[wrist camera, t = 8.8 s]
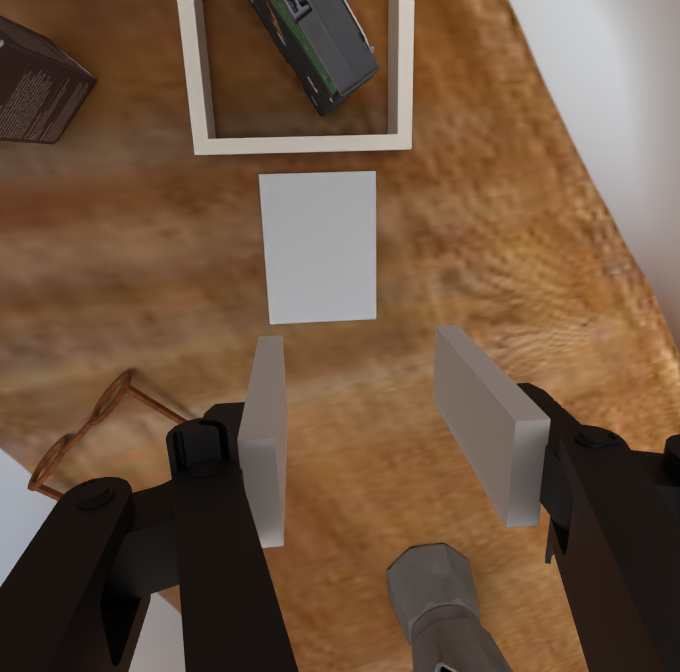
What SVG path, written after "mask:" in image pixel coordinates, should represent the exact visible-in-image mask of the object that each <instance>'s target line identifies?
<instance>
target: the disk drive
mask: <svg viewBox="0 0 680 672" xmlns="http://www.w3.org/2000/svg"><path fill="white" fill-rule="evenodd" d="M249 2H250V3H251V5H252V7H253V8H254V9H255V11H256V12H257V14H258V15H259V17H260V19H261V20H262V22H263V24H264V25H265V27H266V29H267V30H268V32H269V33H270V35H271V37H272V39H273V41H274V42H275V44H276V46H277V47H278V48H279V50H280V52H281V53H282V55H283V57H284V58H285V60H286V61H287V62H288V63H290V64H291V66H292V68H293V69H294V70H295V72H296V74H297V76H298V77H299V79H300V80H301V82H302V84H303V87H304V90H305V92H306V94H307V95H308V97H309V98H310V100H311V102H312V103H313V104H314V106H315V108H316V109H317V111H318V113H319V115H320V116H324V115H326V114H327V113H328V112H330V111H331V110H333V109H334V108H335V107H337V106H338V105H339V104H341V103H342V102H344V101H345V100H346V99H348V98H349V97H350V95H351V94H352V93H353V92H355V90H357V89H358V88H359V87H360V86H361V85H363V84H365V83H366V82H367V81H369V80H370V79H371V78H372V77H373V75H374V74H375V73H377V71H379V70H380V67H379V64H378V62H377V60H376V59H375V58H374V55H373V52H374V47H373V46H371V47H370V46H369V44H368V40H367V38H366V36H365V34H364V32H363V30H362V28H361V26H360V25H359V23H358V21H357V19H356V17H355V16H354V14H353V12H352V10H351V9H350V7H349V5H348V3H347V2H346V0H249Z"/></svg>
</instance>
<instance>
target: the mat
mask: <svg viewBox="0 0 680 672" xmlns="http://www.w3.org/2000/svg"><path fill="white" fill-rule="evenodd" d="M259 185H260V198H261V211H262V225H263V238H264V252H265V265H266V278H267V292H268V305H269V319H270V324H286V323H306V322H326V321H346V320H365V319H376V171H355V172H321V173H287V174H259Z"/></svg>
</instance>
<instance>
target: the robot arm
mask: <svg viewBox="0 0 680 672" xmlns="http://www.w3.org/2000/svg"><path fill="white" fill-rule="evenodd" d="M433 401H434V403H435V405H436V406H437V408H438V410H439V412H440V413H441V415H442V417H443V419H444V420H445V422H446V424H447V426H448V427H449V429H450V431H451V433H452V434H453V436H454V438H455V440H456V441H457V443H458V445H459V447H460V448H461V450H462V452H463V453H464V455H465V457H466V459H467V460H468V462H469V464H470V466H471V467H472V469H473V471H474V473H475V474H476V476H477V478H478V480H479V481H480V483H481V485H482V487H483V488H484V490H485V492H486V494H487V495H488V497H489V499H490V500H491V502H492V504H493V506H494V507H495V509H496V511H497V513H498V514H499V516H500V518H501V520H502V521H503V523H504V525H505V527H506V528H509V527H521V526H534V525H538V524H539V515H540V507H541V503H542V505H543V506H544V508H545V509H546V510H547V512H548V513H549V515H550V523H549V531H548V539H547V547H546V555H545V563H548V564H551V556H552V555H553V554H554V555H555V558H556V562H557V565H558V568H559V572H560V575H561V578H562V582H563V585H564V589H565V592H566V595H567V599H568V602H569V605H570V609H571V612H572V616H573V619H574V622H575V626H576V629H577V632H578V636H579V639H580V643H581V646H582V649H583V653H584V656H585V659H586V663H587V666H588V669H589V672H680V434H678V435H673V436H670V437H669V438H668V439H667V440H666V443H665V448H664V453H663V454H662V453H653V452H643V451H634V450H631V449H630V448H629V446H628V445H627V443H626V442H625V441H624V440H623V439H622V438H621V437H620V436H619V435H617V434H615V433H613V432H611V431H609V430H606V429H603V428H600V427H596V426H589V425H581V424H580V423H579V422H578V421H577V420H576V419H575V418H574V417H573V416H571V415H570V414H569V413H568V412H567V411H566V410H565V409H564V408H561V405H560V404H558V403H557V402H556V401H554V399H553V398H552V397H551V396H550V395H549V394H548V393H547V392H545V391H544V390H543V389H540V388H538V387H536V386H534V385H532V384H530V383H519V384H516V383H515V382H514V381H513V380H512V379H511V378H510V377H509V376H508V375H507V374H506V373H505V372H504V371H503V370H502V369H501V368H500V367H499V366H498V365H497V364H496V363H495V362H494V361H493V360H492V359H491V358H490V357H489V356H488V355H487V354H486V353H485V352H484V351H483V350H482V349H481V348H480V347H479V346H478V345H477V344H476V343H475V342H474V341H473V340H472V339H471V338H470V337H469V336H468V335H467V334H466V333H465V332H464V331H463V330H462V329H461V328H460V327H459V326H458V325H456V326H438V327H436V334H435V365H434V397H433ZM287 417H288V407H287V393H286V379H285V365H284V351H283V336H282V335H274V336H259V338H258V343H257V348H256V353H255V358H254V362H253V367H252V372H251V377H250V382H249V386H248V391H247V396H246V401H245V402H239V403H224V404H215V405H214V406H213V407H211V408H210V409H209V410H208V411H207V412H206V413H205V414H204V416H203V418H196V419H193V420H189V421H185V422H183V423H181V424H179V425H177V426H175V427H174V428H173V429H172V430H170V431H169V432H168V434H167V437H166V443H167V450H168V456H169V462H170V469H171V475H172V480H170V481H168V482H166V483H164V484H162V485H159V486H156V487H153V488H149V489H145V490H142V491H138V492H134V493H132V489H131V486H130V484H129V483H128V482H127V480H124V479H121V478H118V477H103V478H95V479H91V480H88V481H85V482H83V483H81V484H79V485H77V486H75V487H74V488H72V489H70V490H69V491H67V492H66V493H65V494H64V495H63V496H62V497H61V498H60V499H59V501H58V502H57V504H56V505H55V507H54V508H53V510H52V511H51V513H50V514H49V515H48V517H47V518H46V520H45V521H44V523H43V524H42V526H41V528H40V529H39V530H38V532H37V533H36V535H35V536H34V538H33V539H32V541H31V542H30V544H29V545H28V547H27V548H26V550H25V551H24V553H23V554H22V556H21V557H20V559H19V560H18V562H17V563H16V565H15V566H14V568H13V569H12V571H11V572H10V574H9V575H8V577H7V578H6V580H5V581H4V583H3V584H2V586H1V587H0V672H128V671H129V668H130V664H131V661H132V658H133V655H134V651H135V648H136V645H137V642H138V639H139V635H140V632H141V629H142V625H143V622H144V619H145V616H146V613H147V609H148V606H149V603H150V598H151V594H152V593H155V592H158V591H161V590H164V589H167V588H170V587H173V586H176V585H179V586H180V600H181V614H182V627H183V641H184V654H185V669H186V672H298V668H297V665H296V661H295V658H294V655H293V651H292V648H291V644H290V641H289V638H288V634H287V631H286V627H285V624H284V621H283V617H282V614H281V611H280V607H279V604H278V600H277V597H276V594H275V590H274V587H273V583H272V580H271V577H270V573H269V570H268V567H267V563H266V560H265V556H264V553H263V550H262V548H266V547H279V546H284V513H285V481H286V449H287Z"/></svg>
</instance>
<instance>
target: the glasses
mask: <svg viewBox="0 0 680 672" xmlns="http://www.w3.org/2000/svg"><path fill="white" fill-rule="evenodd" d="M131 378H132V375H131V374H130V373H128V372H124V373H122V374H121V375H120V376H119V377H118V378H117V379H116V380H115V381H114V382H113V383H112V384H111V385H110V386H109V387H108V389H107V390H106V391H105V392H104V394H103V395H102V397H101V398H100V399H99V401H98V403H97V405H96V406H95V408H94V411H93V413H92V415H91V418H90V419H89V421H88V422H87V423H86V424H85V426H84V427H83V428H82V429H81V430H80V431H79V432H78V433H77V434H76V435H75V436H74V437H73V438H72V439H71V440H70V441H69V439H67V438H65V437H62V438H61V439H59V440H58V441H57V442H56V443H55V444H54V445H53V446H52V447H51V449H50V450H49V451H48V452H47V453H46V455H45V456H44V457H43V459H42V460H41V461H40V463H39V464H38V466H37V468H36V469H35V471H34V473H33V475H32V477H31V479H30V481H29V484H28V489H29V490H31V491H37V492H40V493H42V494H44V495H46V496H48V497H50V498H53V499H55V500H57V501H59V499H60V498H61V497H62V496H63V495H64V494H62V493H60V492H58V491H56V490H54V489H51V488H49V487H47V486H45V485H43V483H44V482H45V481H46V480H47V478H48V477H49V476H50V475H51V473H52V472H53V471H54V470H55V468H56V467H57V465H58V464H59V462H60V461H61V459H62V458H63V456H64V454H65V453H67V452H68V451H69V450H70V449H71V448H72V447H73V446H74V445H75V444H76V443H77V442H78V441H79V440H80V439H81V438H82V437H83V436H84V435H85V434H86V433H87V431H88V430H89V429H90V427H91V426H92V425H97V424H99V423H100V422H102V421H103V420H104V419H105V418H106V417H107V416H108V415H109V414H110V413H111V412H112V411H113V409H114V408H115V407H116V406H117V404H118V403H119V402H120V400H121V399H122V397H123V396H124V394H125V393H126V392H127V393H128V394H130V395H132V396H133V397H135V398H137V399H138V400H140V401H142V402H143V403H145V404H147V405H148V406H150V407H152V408H153V409H155V410H156V411H158V412H160V413H161V414H163V415H165V416H166V417H168V418H170V419H171V420H173V421H175V422H176V423H178V424H181V423H183V422H185V421H187V420H186V419H184V418H182V417H181V416H179V415H178V414H176V413H174V412H173V411H171V410H169V409H168V408H166V407H165V406H163V405H161V404H160V403H158V402H156V401H155V400H153V399H151V398H150V397H148V396H147V395H145V394H143V393H142V392H140V391H138V390H137V389H135V388H134V387H132V386H130V382H131ZM122 381H123V384H122V386H121V388H120V390H119V392H118V394H117V395H116V397H115V398H114V399H113V401H112V402H111V403H110V404H109V406H108V407H107V408H106V409H105V410H104V411H103V412H102V413H101V414H100V415H99V413H100V410H101V408H102V406H103V404H104V402H105V401H106V399H107V398H108V397H109V395H110V394H111V393H112V391H113V390H114V389H115V388H116V387H117V386H118V385H119V384H120V383H121V382H122ZM68 442H69V443H68ZM59 447H60V449H59V452H58V454H57V456H56V457H55V459H54V460H53V462H52V463H51V465H50V466H49V468H48V469H47V470H46V471H45V473H44V474H43V475H42V476H41V477H40V478H39V479H38V480H37V478H38V476H39V474H40V472H41V470H42V469H43V467H44V465H45V464H46V462H47V461H48V460H49V458H50V457H51V456H52V455H53V453H54V452H55V451H56V450H57V449H58V448H59Z"/></svg>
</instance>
